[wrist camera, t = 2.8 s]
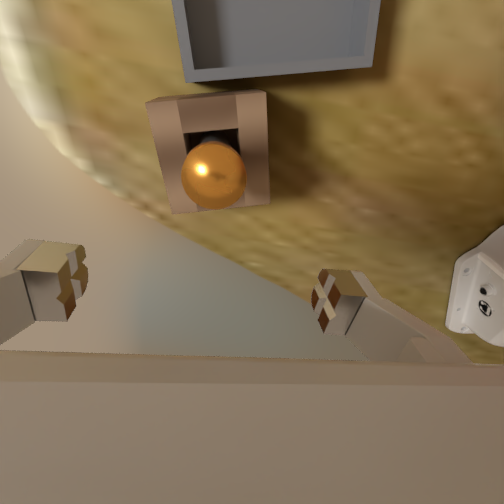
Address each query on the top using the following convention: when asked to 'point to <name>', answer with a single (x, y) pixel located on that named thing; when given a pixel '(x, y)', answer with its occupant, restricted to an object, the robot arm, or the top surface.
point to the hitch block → (207, 119)
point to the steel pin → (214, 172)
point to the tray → (273, 36)
